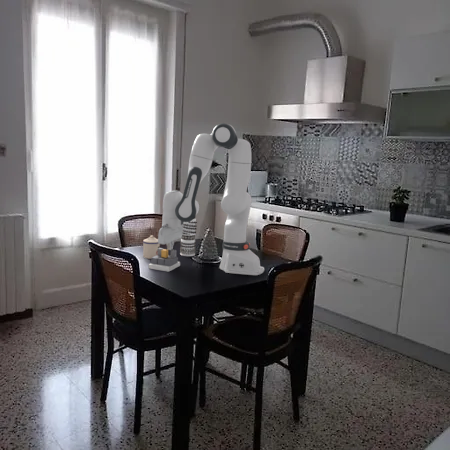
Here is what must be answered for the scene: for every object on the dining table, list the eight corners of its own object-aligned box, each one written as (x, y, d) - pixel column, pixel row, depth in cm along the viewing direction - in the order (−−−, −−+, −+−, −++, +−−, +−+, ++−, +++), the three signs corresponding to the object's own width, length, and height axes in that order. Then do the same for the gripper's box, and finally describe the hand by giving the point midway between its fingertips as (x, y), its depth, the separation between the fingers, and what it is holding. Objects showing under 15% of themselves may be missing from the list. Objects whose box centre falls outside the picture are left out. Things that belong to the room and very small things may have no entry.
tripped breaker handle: (168, 256, 218) (168, 249, 217) (165, 257, 216) (166, 250, 215) (163, 255, 219) (163, 249, 218) (161, 257, 217) (161, 250, 216)
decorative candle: (197, 252, 250) (198, 209, 245) (194, 256, 240) (196, 211, 236) (181, 251, 250) (182, 208, 246) (178, 255, 241) (179, 210, 237)
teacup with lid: (159, 259, 232) (160, 237, 230) (142, 259, 231) (142, 237, 229) (159, 253, 244) (160, 233, 242) (143, 253, 243) (143, 232, 241)
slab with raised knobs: (179, 265, 222) (180, 249, 220) (168, 271, 211) (169, 254, 209) (160, 262, 226) (160, 246, 224) (148, 268, 215) (148, 251, 213)
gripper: (166, 226, 210) (165, 254, 212) (185, 220, 228) (184, 246, 231) (155, 225, 212) (154, 253, 214) (174, 219, 231) (173, 244, 233)
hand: (169, 249), depth 223 cm, fingers closed
